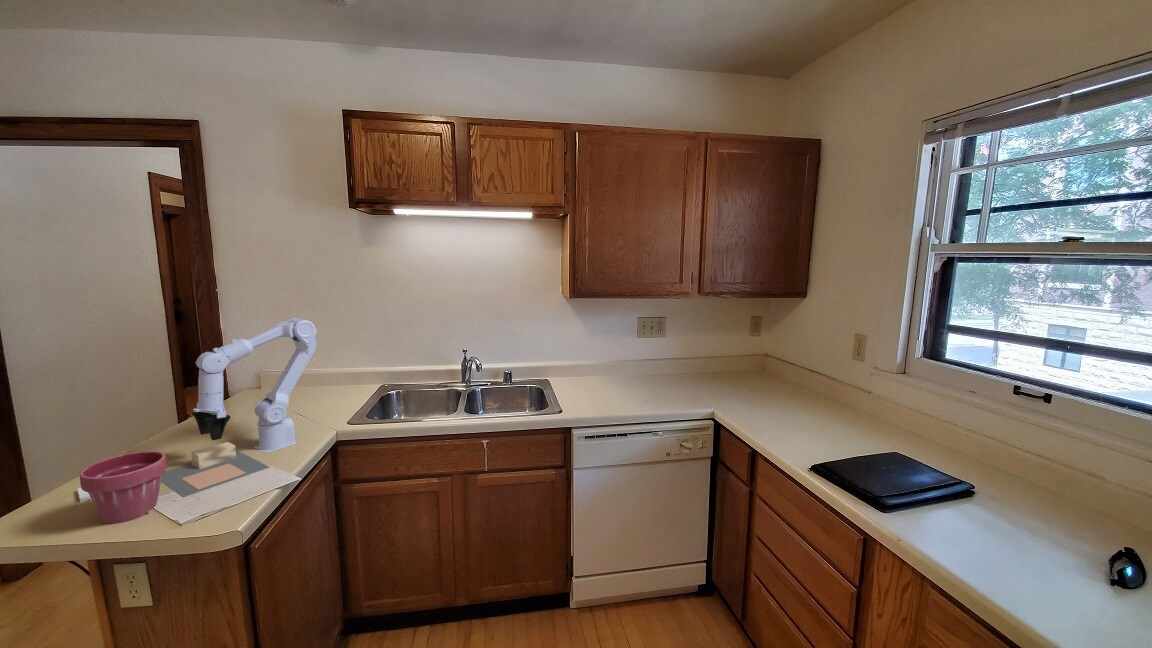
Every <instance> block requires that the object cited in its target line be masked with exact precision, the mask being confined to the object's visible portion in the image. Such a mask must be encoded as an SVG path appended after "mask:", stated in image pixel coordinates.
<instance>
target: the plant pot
mask: <svg viewBox="0 0 1152 648" xmlns="http://www.w3.org/2000/svg"><path fill="white" fill-rule="evenodd" d="M167 468H168V465H167V457H166V454H165V453H164V452H161V451H157V450H143V451H134V452H129V453H123V454H119V455H114V456H111V457H107V458H105V459H102V460H99V461H95V462H93V463H92V464H90V465H88V466H86V467H85V468H83V469H81V471H80V472H79V483H80V488H81V489H82V490H83V491H85V492H88V493H89V495H90V497H91V499H90V500H91V501H92V504H93V506H94V507H95V509H96V511H97V512H98V515H99V516H100V519H101V521H102V522H104V523H106V524H118V523H119V524H120V523H124V522H128V521H133V520H136V519H138V518H141V517H143V516H145V515H147V514H149V511H152V510H153V509H154V508H156V506H157V502H158V498H159V494H160V488H161V483H162V482H161V478H162V474H163V473H164V472H165V471H167Z"/></svg>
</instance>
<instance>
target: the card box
mask: <svg viewBox="0 0 1152 648" xmlns="http://www.w3.org/2000/svg"><path fill="white" fill-rule="evenodd" d="M236 450H237V449H236V445H235V444H233V443H231V442H229V441H226V442H222V443H219V444H216V445H211V446H209V447H208V446H207V447H204V448H201V449H198V450H194V451H191V452H190V454H191V463H192V465H194V466H195V467H197V468H199V469H201V468H205V467H208V466H211V465H214V464H217V463H221V462H224V461H227V460H230V459H234V458H236Z"/></svg>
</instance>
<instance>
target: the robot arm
mask: <svg viewBox="0 0 1152 648" xmlns="http://www.w3.org/2000/svg"><path fill="white" fill-rule="evenodd" d="M317 333H318V330H317V328H316V326H315V325H314V322H312V321H310V320H308V319H301V318H298V317H292V318H289V319H288V320H284V321H281V322H279V323H277V324H276V325H273V326H272V327H270V328H267V329H265V330H264V331H261V332H259V333H256V335H254V336H251V337H250V338H247V339H244V338H238V339H236V338H233V339H230V342H229V343H227V344H225V345H222V346H220V347H214V348H212V351H205V352H203V353H201V354H200V355H199V357H197V359H196V361H195V365H196V367H197V369H199V370H198V380H197V381H198V383H197V384H198V393H197V395H198V396H197V397H198V399H197V400H198V401H197V402H196V408H195V407H194V408H193V410H192V412H191V415H192V416H193V418H194V419H195V421H196V423H197V426H198V430H199V434H200V435H202V436H203V435H207V434H209V435H210V439H211V441H218V440H221V439H222V437H223V434H224V431H225V429H226V426H227V424H228V422H229V421H230V419H231V415H229V414H227V410H226V409H225V405H224V370H225V369H226V368H227V366H228V365H229V366H230V365H231V364H234V363H235V362H238V361H240V360H242V359H243V358H246V357H248V356H250V355H252V353H253V350H254V349H255V348H258V347H261V346H263V345H265V344H267V343H271V342H272V341H275V340H277V339H279V338H290V339H292V341H293V342H294V346H295V347H296V348H295V350H294V352H293V354H292V355H291V356H290V359H289V361H288V362H287V364H286V365H285V367H284V369H283V371H282V372H281V374H280V376H279V377H278V379H277V381H276V382H275V385H274V386H273V387H272V390H271V391H269V392H268V393H266V394H265V396H264V397H263V398H262V399H261V400H260V401H258V403H257V404H256V405H255V407H254V413H255V415H256V416H257V417H258V420H257V432H258V443H259V444H258V445H256V446H253V448H254V449H256V450H258V451H259V452H260V451H261V452H263V453H270V452H273V451H275V450H279V449H282V448H285V447H288V446H292V445H295V444H296V445H297V442H296V432H295V423H294V421H293V419H292V418H291V417H289V416H288V417H286V416H287V410H288V409H287V408H288V406H289V404H290V395H291V394H292V392H293V391H294V389H295V387H296V385H297V383H298V381H299V380H300V378H301V376H302V374H303V373H304V371H305V369H306V368H307V365H308V364H309V362H310V360H311V358H312V357H313V356H314V354H315V351H316V349H317V336H316V335H317Z"/></svg>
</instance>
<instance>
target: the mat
mask: <svg viewBox="0 0 1152 648" xmlns="http://www.w3.org/2000/svg"><path fill="white" fill-rule="evenodd" d="M269 468H271V466H269V465H267V464H265V463H263V462H261V461H259V460H257V459H255V458H253V457H251V456H249V455H247V454H245V453H243V452H241V451H239V450H237V449H236V458H234V459H230V460H227V461H224V462H221V463H217V464H214V465H211V466H208V467H205V468H201V469H199V468H197V467H195V466H194V465H192V462H191V463H188V464H184V465H181V466H178V467H173V468H171V469H170V468H169V469H168V470H167V469H166V471H165V472H164V473H163V474H162V478H161V483H162V484H163V485H165V486H167V487H168V488H169V489H171V490H172V491H173V492H175V493H177V494H178V495H179V496H180V497H182V498H185V497H188V496H191V495H193V494H194V495H195V494H197V493H200V492H203V491H206V490H209V489H211V488H212V489H213V488H214V487H218V486H221V485H223V484H226V483H228V482H232V481H235V480H237V479H240V478H241V479H242V478H244V477H245V476H246V477H247V476H249V475H253V474H255V473H257V472H260V471H264V470H267V469H269Z"/></svg>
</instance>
